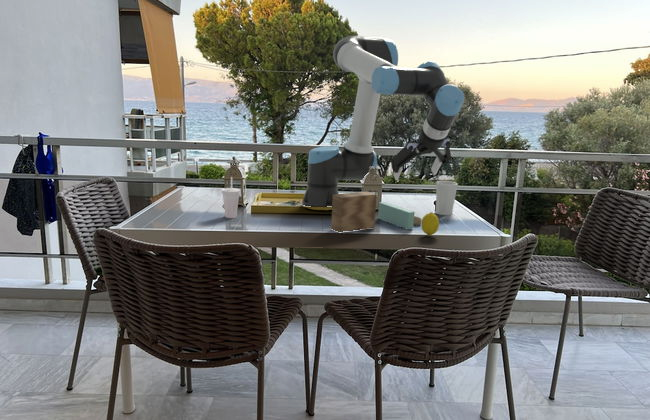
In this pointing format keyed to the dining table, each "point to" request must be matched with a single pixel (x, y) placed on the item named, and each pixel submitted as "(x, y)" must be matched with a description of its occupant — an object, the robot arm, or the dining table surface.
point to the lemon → (430, 224)
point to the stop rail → (396, 215)
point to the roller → (417, 220)
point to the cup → (445, 197)
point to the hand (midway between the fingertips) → (414, 174)
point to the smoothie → (230, 201)
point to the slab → (353, 211)
